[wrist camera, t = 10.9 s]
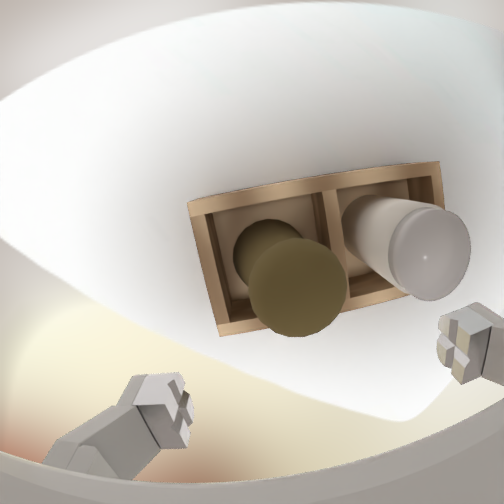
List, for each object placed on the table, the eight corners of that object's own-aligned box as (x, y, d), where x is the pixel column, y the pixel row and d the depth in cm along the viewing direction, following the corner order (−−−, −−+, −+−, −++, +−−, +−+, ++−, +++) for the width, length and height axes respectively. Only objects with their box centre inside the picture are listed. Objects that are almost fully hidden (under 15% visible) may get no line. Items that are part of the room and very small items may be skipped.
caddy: (409, 163, 25) (439, 161, 20) (419, 267, 27) (447, 283, 22) (198, 198, 25) (186, 202, 20) (224, 310, 27) (219, 336, 22)
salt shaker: (394, 190, 24) (470, 199, 14) (401, 252, 26) (472, 290, 15) (334, 200, 25) (391, 215, 14) (344, 265, 26) (398, 315, 16)
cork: (229, 222, 24) (236, 240, 14) (303, 215, 25) (363, 228, 14) (236, 295, 25) (248, 362, 15) (307, 287, 26) (362, 343, 15)
